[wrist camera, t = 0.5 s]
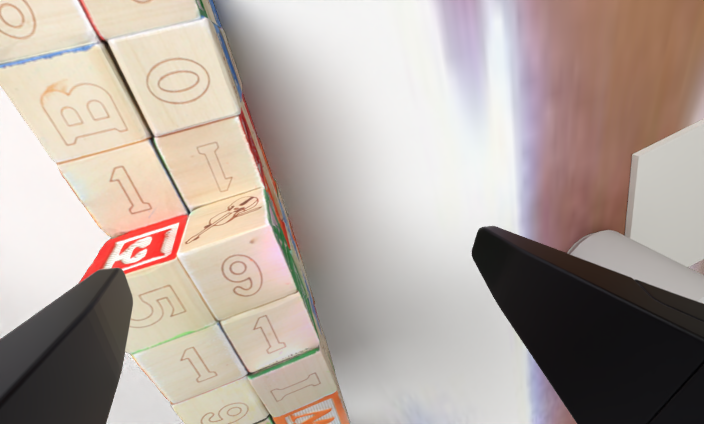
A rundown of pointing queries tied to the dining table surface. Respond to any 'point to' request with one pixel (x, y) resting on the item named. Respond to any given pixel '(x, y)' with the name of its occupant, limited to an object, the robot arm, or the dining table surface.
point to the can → (639, 263)
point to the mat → (669, 196)
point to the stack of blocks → (176, 201)
